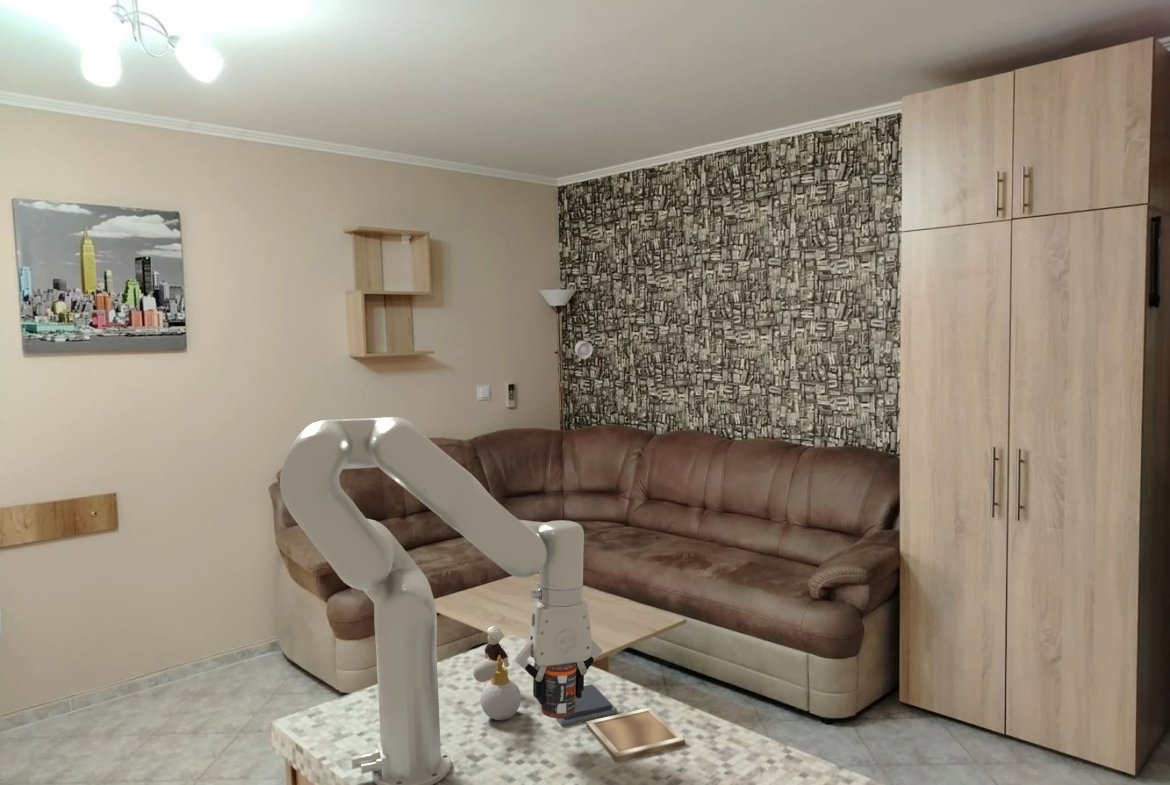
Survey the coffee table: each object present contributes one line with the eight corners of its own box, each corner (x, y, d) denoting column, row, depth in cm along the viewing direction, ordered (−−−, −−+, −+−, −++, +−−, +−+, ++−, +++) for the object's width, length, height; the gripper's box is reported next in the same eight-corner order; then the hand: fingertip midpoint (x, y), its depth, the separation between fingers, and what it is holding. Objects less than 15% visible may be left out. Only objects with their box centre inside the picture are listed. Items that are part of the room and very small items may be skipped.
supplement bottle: (571, 722, 131) (572, 655, 130) (536, 718, 132) (537, 652, 132) (578, 706, 137) (580, 642, 136) (545, 702, 138) (546, 639, 137)
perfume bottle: (526, 708, 149) (524, 647, 148) (511, 733, 140) (509, 668, 139) (488, 706, 151) (486, 645, 150) (471, 730, 141) (469, 666, 140)
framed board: (616, 761, 129) (615, 756, 129) (586, 726, 141) (586, 721, 141) (685, 744, 134) (685, 739, 134) (650, 712, 146) (650, 707, 146)
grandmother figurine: (475, 687, 159) (473, 626, 158) (488, 680, 162) (486, 620, 161) (504, 696, 155) (502, 633, 154) (517, 689, 158) (515, 627, 157)
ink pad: (561, 726, 142) (561, 717, 142) (541, 701, 152) (541, 692, 152) (617, 714, 146) (616, 705, 146) (594, 690, 156) (593, 682, 156)
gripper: (518, 606, 127) (516, 715, 128) (615, 596, 133) (613, 699, 134) (505, 592, 134) (503, 696, 135) (598, 583, 140) (596, 682, 141)
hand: (558, 697), depth 134 cm, fingers closed on supplement bottle, 6 cm apart
